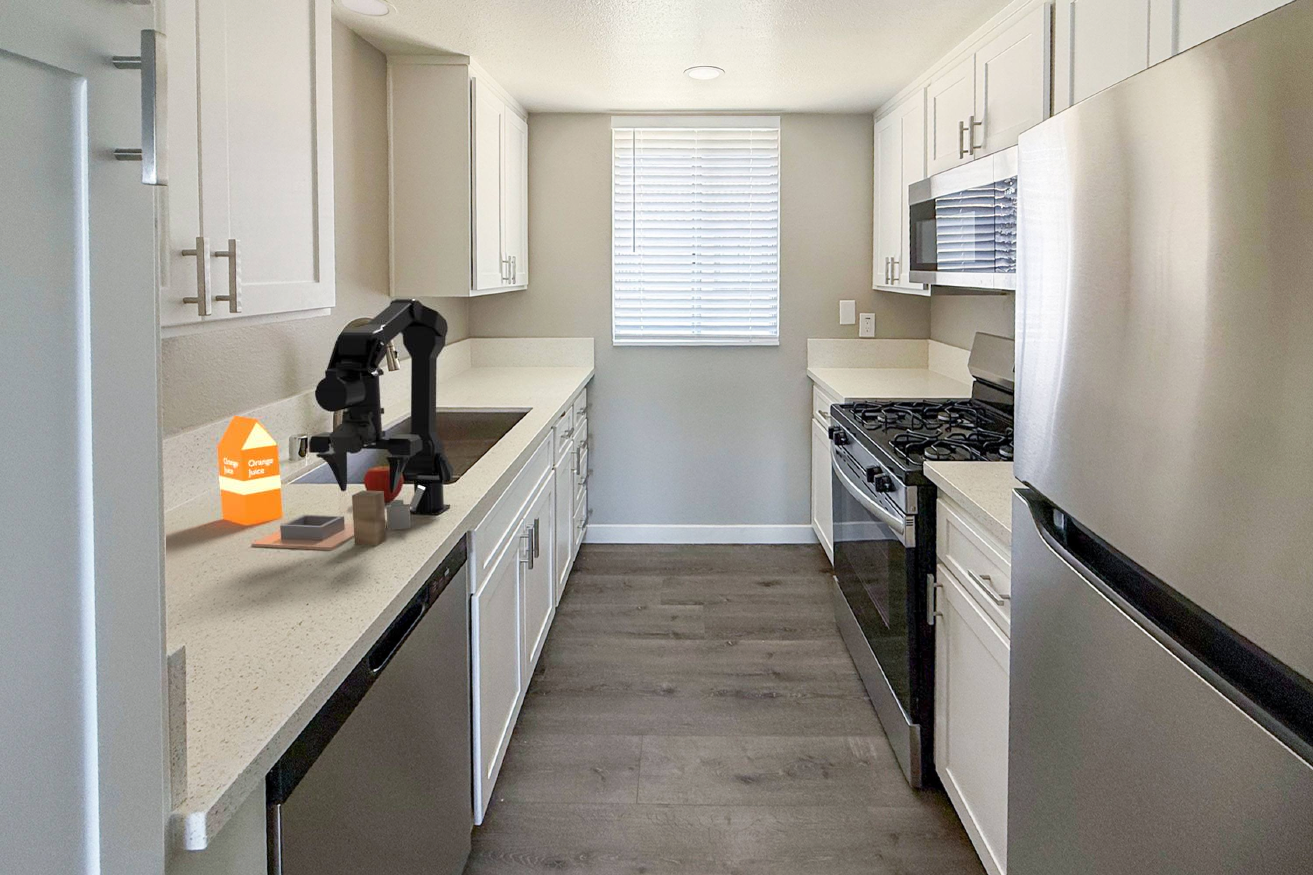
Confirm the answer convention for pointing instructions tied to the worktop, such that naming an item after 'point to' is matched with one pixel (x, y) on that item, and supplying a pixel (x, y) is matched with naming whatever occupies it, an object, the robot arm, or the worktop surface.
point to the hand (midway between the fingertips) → (368, 491)
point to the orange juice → (249, 473)
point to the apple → (381, 482)
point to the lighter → (402, 511)
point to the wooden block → (369, 518)
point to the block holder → (310, 533)
